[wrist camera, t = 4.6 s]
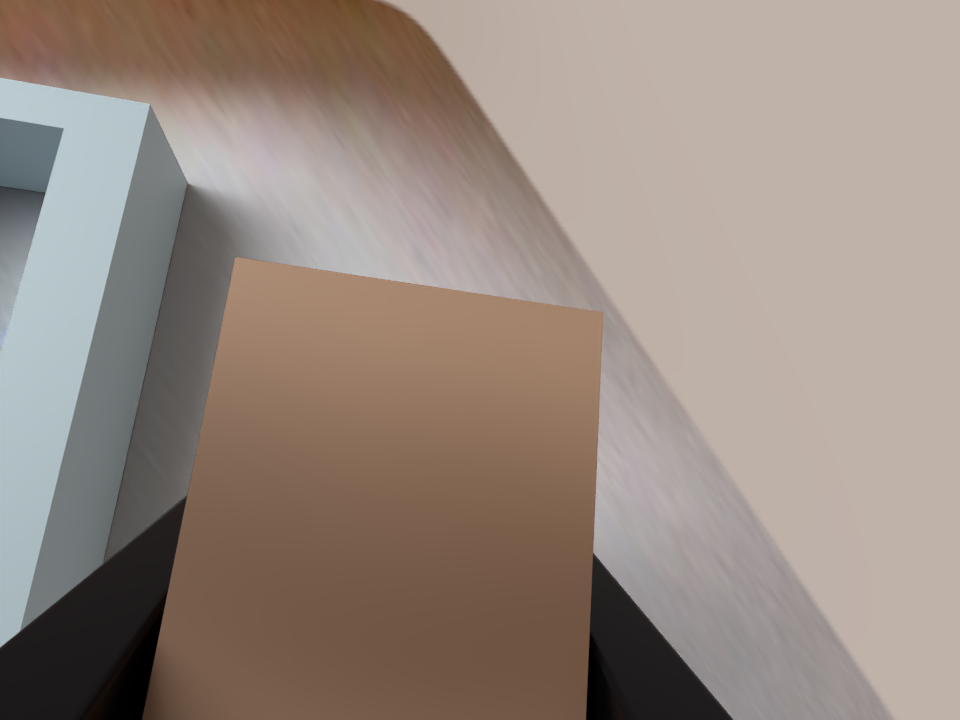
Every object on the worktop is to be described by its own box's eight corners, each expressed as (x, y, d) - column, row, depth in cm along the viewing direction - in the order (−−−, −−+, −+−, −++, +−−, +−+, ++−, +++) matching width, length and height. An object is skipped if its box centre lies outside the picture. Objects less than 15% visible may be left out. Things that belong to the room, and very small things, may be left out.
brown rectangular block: (434, 810, 14) (564, 1242, 5) (235, 803, 13) (29, 1279, 5) (469, 430, 16) (602, 312, 8) (299, 409, 16) (235, 257, 7)
